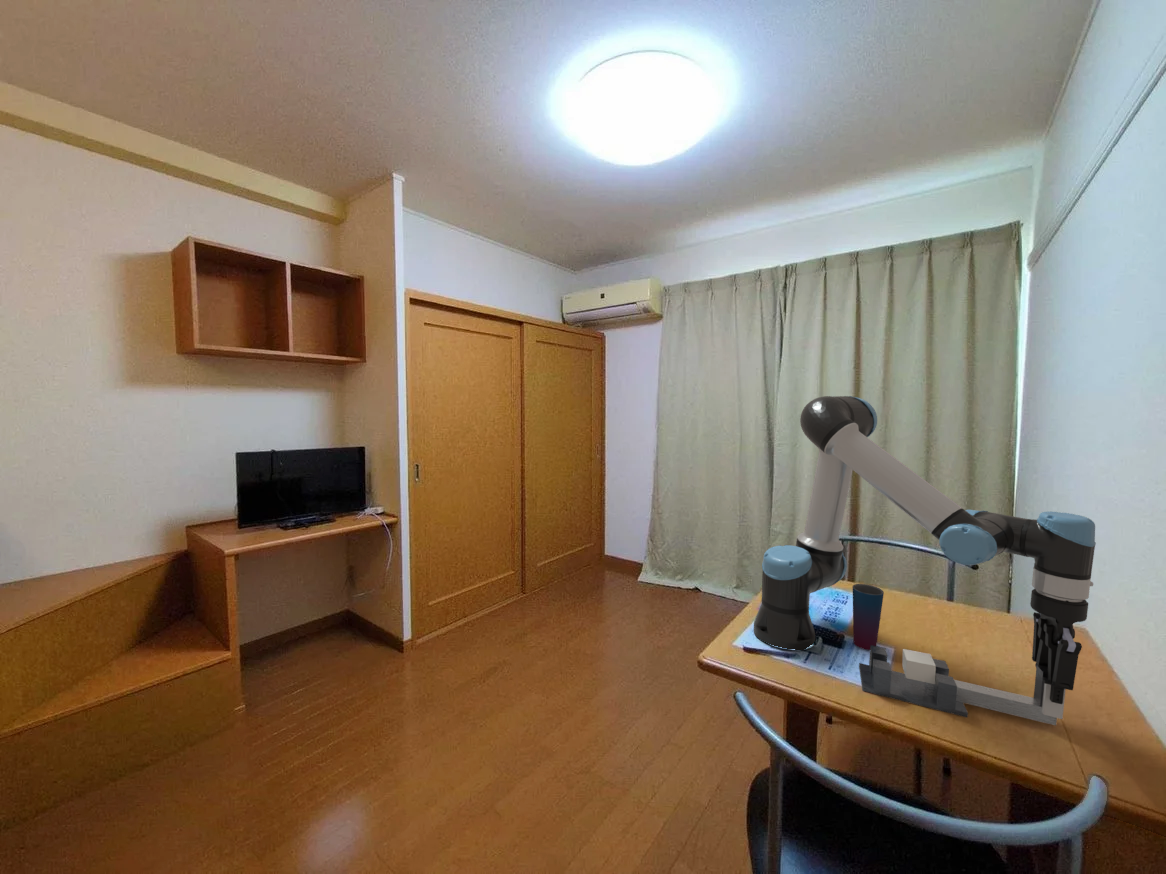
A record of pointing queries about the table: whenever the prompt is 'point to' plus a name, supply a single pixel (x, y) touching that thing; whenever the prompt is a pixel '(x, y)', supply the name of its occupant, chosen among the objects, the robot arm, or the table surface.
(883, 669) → the rail
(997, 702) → the sliding bolt
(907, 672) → the block
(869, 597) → the cup
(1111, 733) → the table surface
